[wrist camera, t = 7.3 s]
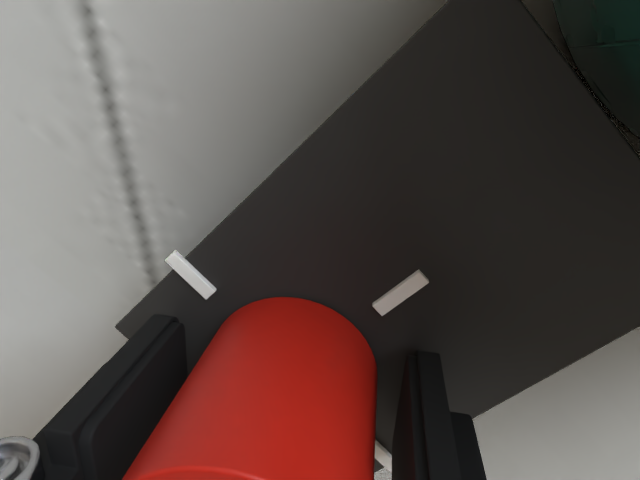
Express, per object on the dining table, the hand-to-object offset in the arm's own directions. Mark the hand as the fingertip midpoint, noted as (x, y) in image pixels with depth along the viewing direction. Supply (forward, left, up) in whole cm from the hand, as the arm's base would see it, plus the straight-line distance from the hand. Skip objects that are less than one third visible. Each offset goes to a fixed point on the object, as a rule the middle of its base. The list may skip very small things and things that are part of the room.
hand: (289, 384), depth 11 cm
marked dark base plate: (-2, +2, -4) cm, 5 cm away
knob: (0, 0, -1) cm, 1 cm away
